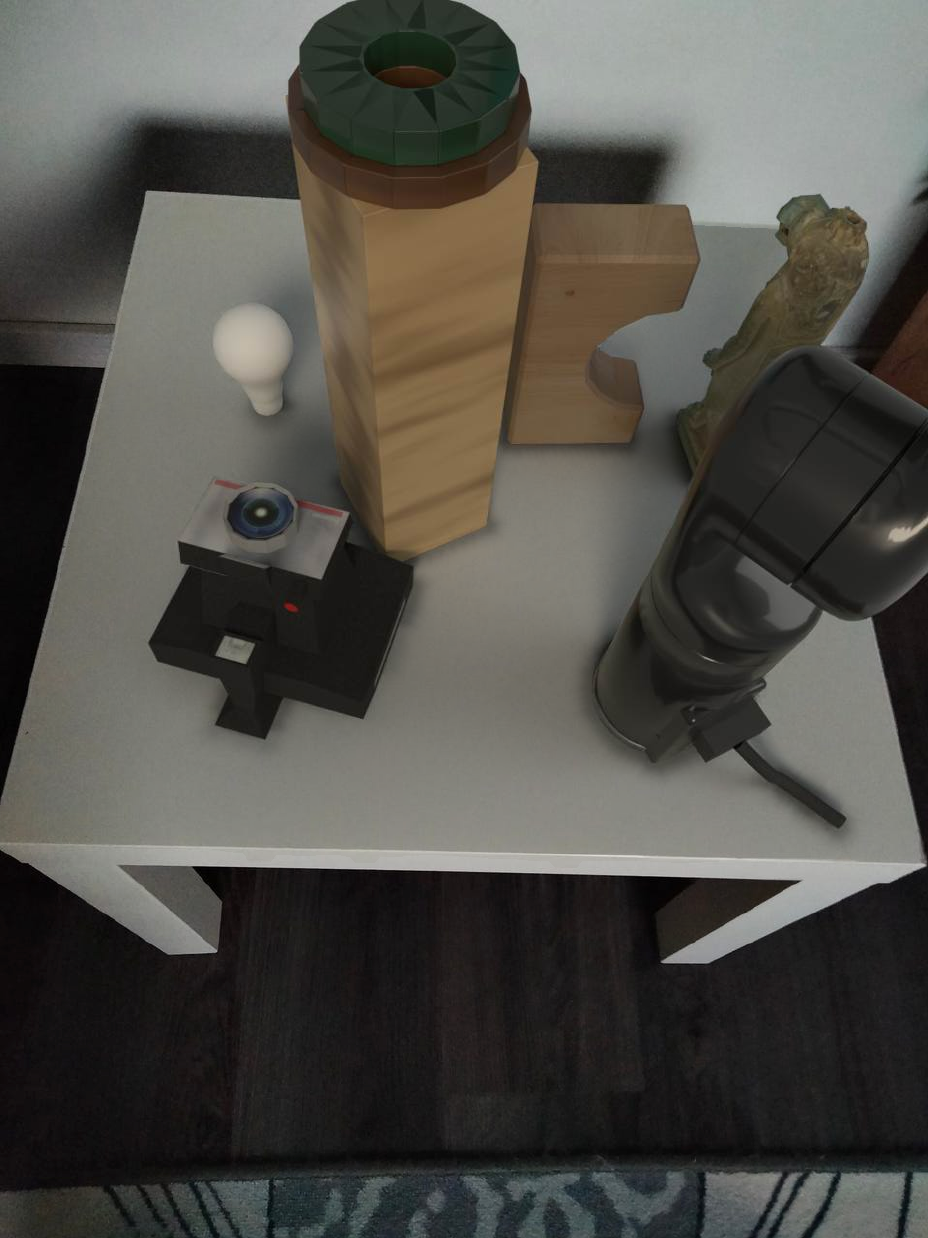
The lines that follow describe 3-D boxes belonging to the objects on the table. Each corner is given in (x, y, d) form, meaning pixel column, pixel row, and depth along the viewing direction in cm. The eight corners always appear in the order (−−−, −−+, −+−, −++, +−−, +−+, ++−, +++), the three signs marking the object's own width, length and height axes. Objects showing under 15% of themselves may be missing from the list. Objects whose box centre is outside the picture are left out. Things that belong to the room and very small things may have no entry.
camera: (417, 476, 55) (341, 674, 47) (412, 592, 67) (351, 764, 60) (188, 416, 56) (78, 601, 48) (225, 542, 68) (142, 704, 61)
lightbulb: (284, 372, 74) (264, 273, 64) (317, 420, 72) (301, 326, 62) (221, 399, 73) (190, 303, 63) (253, 449, 71) (226, 358, 61)
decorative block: (625, 394, 75) (691, 200, 57) (632, 447, 73) (703, 261, 55) (502, 393, 75) (530, 197, 57) (505, 446, 72) (535, 258, 54)
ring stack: (503, 531, 69) (580, 101, 36) (380, 583, 66) (345, 171, 34) (442, 432, 73) (463, -37, 40) (324, 477, 70) (244, 16, 37)
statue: (727, 403, 76) (860, 144, 53) (766, 478, 72) (926, 237, 50) (657, 417, 74) (762, 160, 52) (693, 495, 71) (823, 256, 49)
